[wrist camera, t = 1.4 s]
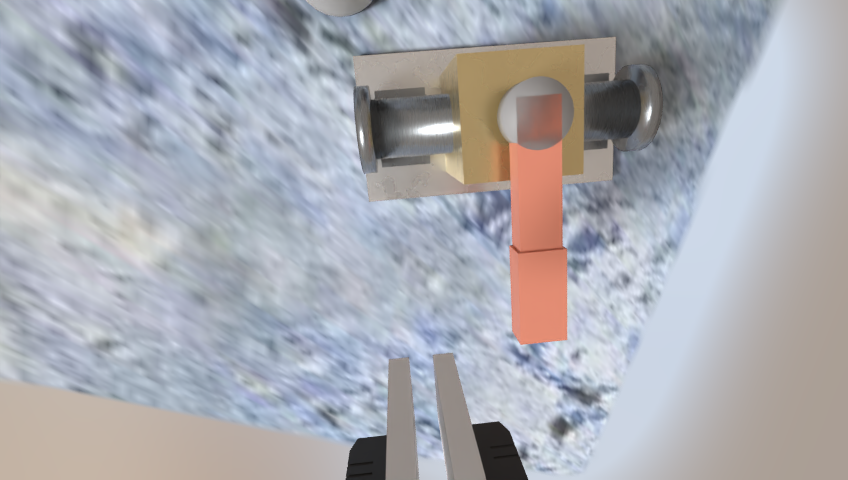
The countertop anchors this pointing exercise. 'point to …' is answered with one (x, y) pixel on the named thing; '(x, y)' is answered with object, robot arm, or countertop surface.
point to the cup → (339, 6)
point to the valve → (492, 114)
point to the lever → (537, 206)
